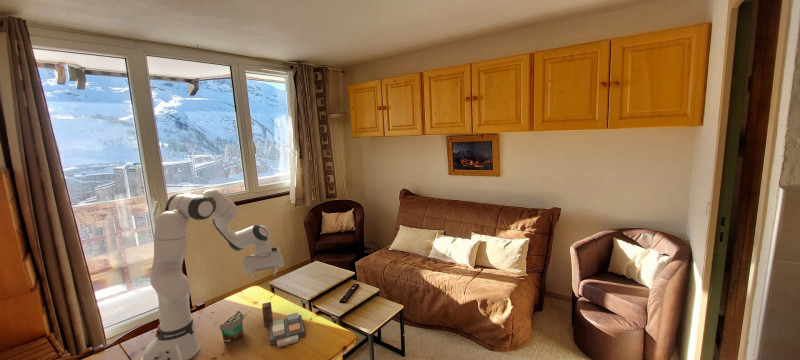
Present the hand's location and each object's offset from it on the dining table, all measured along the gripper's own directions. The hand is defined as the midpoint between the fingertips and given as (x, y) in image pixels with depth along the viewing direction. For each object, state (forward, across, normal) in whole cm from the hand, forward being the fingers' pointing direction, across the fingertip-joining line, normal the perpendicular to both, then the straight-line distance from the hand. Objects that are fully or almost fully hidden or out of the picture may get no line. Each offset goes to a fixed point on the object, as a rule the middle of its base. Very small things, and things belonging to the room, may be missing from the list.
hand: (265, 277), depth 172 cm
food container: (+27, -14, +1) cm, 30 cm away
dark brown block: (+22, 0, +5) cm, 23 cm away
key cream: (+31, +4, -7) cm, 32 cm away
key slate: (+26, +11, -2) cm, 29 cm away
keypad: (+32, +8, -4) cm, 33 cm away
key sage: (+27, +4, -1) cm, 28 cm away
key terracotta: (+32, +11, -6) cm, 35 cm away
